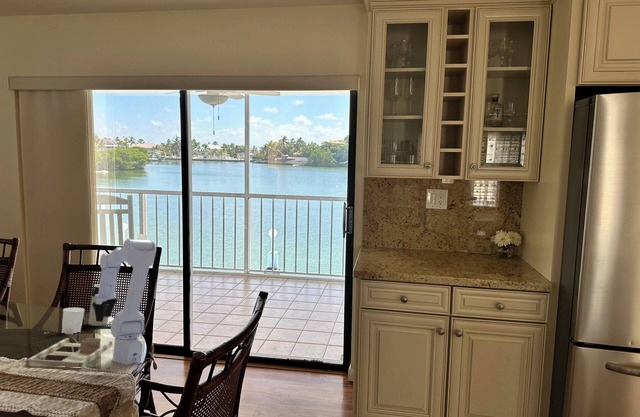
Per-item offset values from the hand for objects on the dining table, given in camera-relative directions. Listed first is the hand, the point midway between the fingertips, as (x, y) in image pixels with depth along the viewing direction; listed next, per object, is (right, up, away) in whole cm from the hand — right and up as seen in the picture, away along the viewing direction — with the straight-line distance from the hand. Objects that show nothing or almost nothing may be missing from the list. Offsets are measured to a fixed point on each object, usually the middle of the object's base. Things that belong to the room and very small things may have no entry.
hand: (103, 319), depth 170 cm
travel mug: (-18, -11, +31) cm, 38 cm away
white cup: (-20, -10, +13) cm, 26 cm away
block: (0, -9, -10) cm, 14 cm away
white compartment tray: (-3, -10, -16) cm, 19 cm away
